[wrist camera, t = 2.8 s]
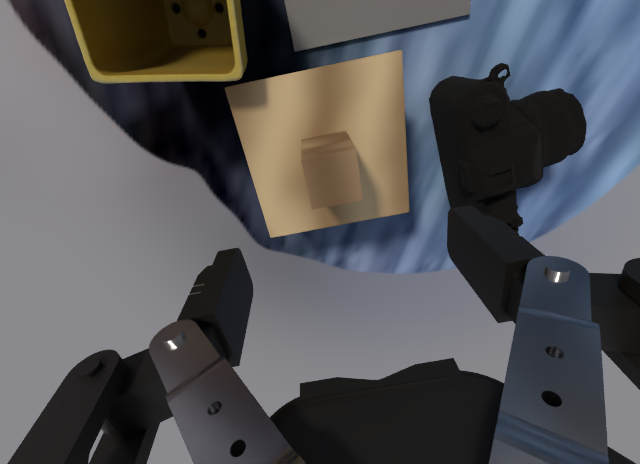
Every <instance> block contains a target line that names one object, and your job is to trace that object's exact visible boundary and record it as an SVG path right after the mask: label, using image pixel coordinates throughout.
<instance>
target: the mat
mask: <svg viewBox="0 0 640 464" xmlns="http://www.w3.org/2000/svg"><path fill="white" fill-rule="evenodd" d="M285 5H286V10H287V15H288V20H289V26H290V31H291V36H292V41H293V46H294V51H295V52H296V51H301V50H306V49H310V48H315V47H319V46H324V45H329V44H333V43H338V42H343V41H347V40H352V39H357V38H361V37H366V36H371V35H375V34H380V33H385V32H389V31H394V30H399V29H403V28H408V27H413V26H417V25H422V24H427V23H431V22H436V21H441V20H445V19H450V18H455V17H459V16H464V15H469V14H470V0H285Z"/></svg>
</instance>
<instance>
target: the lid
mask: <svg viewBox="0 0 640 464" xmlns="http://www.w3.org/2000/svg"><path fill="white" fill-rule="evenodd" d="M225 92H226V95H227V98H228V101H229V104H230V108H231V111H232V114H233V117H234V121H235V124H236V127H237V130H238V134H239V137H240V140H241V143H242V147H243V150H244V153H245V156H246V159H247V163H248V166H249V169H250V172H251V176H252V179H253V182H254V185H255V189H256V192H257V195H258V198H259V202H260V205H261V208H262V211H263V214H264V218H265V221H266V224H267V227H268V231H269V234H270V237H271V238H272V237H278V236H283V235H289V234H294V233H299V232H305V231H310V230H315V229H321V228H326V227H332V226H337V225H342V224H348V223H353V222H358V221H364V220H369V219H375V218H380V217H385V216H391V215H396V214H402V213H407V212H409V193H408V172H407V150H406V128H405V107H404V85H403V64H402V50H398V51H393V52H388V53H384V54H379V55H374V56H370V57H365V58H360V59H355V60H351V61H346V62H341V63H336V64H332V65H327V66H322V67H318V68H313V69H308V70H303V71H299V72H294V73H289V74H284V75H280V76H275V77H270V78H265V79H261V80H256V81H251V82H247V83H242V84H237V85H232V86H228V87H225Z"/></svg>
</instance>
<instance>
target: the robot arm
mask: <svg viewBox="0 0 640 464" xmlns="http://www.w3.org/2000/svg"><path fill="white" fill-rule="evenodd" d="M447 248H448V253H449V256H450V258H451V260H452V261H453V263H454V264H455V265H456V267H457V268H458V269H459V271H460V272H461V274H462V275H463V276H464V278H465V279H466V280H467V281H468V283H469V284H470V286H471V287H472V288H473V290H474V291H475V293H476V294H477V295H478V297H479V298H480V299H481V300H482V302H483V303H484V305H485V306H486V307H487V309H488V310H489V311H490V313H491V314H492V315H493V317H494V318H495V320H496V321H497V322H498V323H501V322H506V321H513V322H514V323H515V324H516V325H515V331H514V336H513V342H512V347H511V352H510V357H509V362H508V367H507V372H506V378H505V383H502V382H500V381H498V380H496V379H493V378H490V377H488V376H485V375H481V374H478V373H474V372H467V371H460V370H459V368H458V366H457V364H456V362H455V361H454V359H453V358H451V359H445V360H439V361H433V362H427V363H421V364H415V365H413V366H410V367H408V368H406V369H404V370H401V371H399V372H397V373H394V374H392V375H390V376H387V377H385V378H383V379H380V380H366V379H353V378H339V377H336V378H330V379H324V380H319V381H312V382H306V383H300V397H298V398H295V399H293V400H292V401H290V402H288V403H287V404H285V405H284V406H282V407H281V408H280V409H278V410H277V411H276V412H275V413H274V414H273V415H272V416H271V417H270V418H269V417H268V416H267V414H266V413H265V411H264V410H263V409H262V407H261V406H260V405H259V403H258V402H257V400H256V399H255V398H254V396H253V395H252V394H251V393H250V391H249V390H248V388H247V387H246V386H245V384H244V383H243V382H242V380H241V379H240V377H239V376H238V375H237V373H236V372H235V371H234V369H233V368H232V367H235V366H239V364H240V358H241V354H242V348H243V343H244V339H245V333H246V328H247V323H248V318H249V313H250V308H251V302H252V297H253V284H252V280H251V277H250V274H249V272H248V269H247V266H246V263H245V260H244V258H243V255H242V252H241V250H240V249H239V248H233V249H228V250H223V251H219V252H218V253H217V255H216V258H215V260H214V262H213V265H211V266H207V267H206V268H205V269H204V270H203V271H202V272H201V273H200V274H199V275H198V277H197V279H196V281H195V283H194V285H193V286H194V287H193V288H192V289H191V292H190V295H189V296H188V298H187V300H186V302H185V304H184V307H183V309H182V311H181V313H180V315H179V317H178V319H177V321H176V322H174V323H171V324H170V325H167V326H166V327H165V328H163V329H162V330H160V331H159V332H158V333H157V334H156V335H155V336H154V337H153V339H152V341H151V343H150V345H149V348H148V349H146V350H144V351H142V352H139V353H136V354H134V355H132V356H129V357H127V358H125V359H122V358H121V357H120V356H119V355H118V353H117V352H116V351H114V350H103V351H100V352H97V353H95V354H92V355H91V356H89V357H87V358H85V359H84V360H83V361H81V362H80V363H78V364H77V365H76V366H75V367H74V368H73V369H72V370H71V371H70V372H69V373H68V375H67V376H66V377H65V379H64V380H63V382H62V383H61V385H60V386H59V388H58V389H57V391H56V392H55V394H54V395H53V397H52V398H51V400H50V401H49V403H48V404H47V406H46V407H45V409H44V410H43V412H42V413H41V415H40V416H39V418H38V419H37V421H36V422H35V424H34V425H33V426H32V428H31V430H30V431H29V433H28V434H27V436H26V437H25V438H24V440H23V441H22V443H21V444H20V446H19V447H18V449H17V450H16V452H15V453H14V455H13V456H12V458H11V459H10V461H9V462H8V464H88V459H89V454H90V450H91V448H92V446H93V444H94V442H95V440H96V437H97V436H98V434H99V432H100V429H102V430H103V431H104V433H103V435H102V437H101V440H100V441H99V444H98V446H97V448H96V450H95V452H94V454H93V457H92V458H91V461H90V463H89V464H146V463H147V460H148V457H149V454H150V451H151V448H152V445H153V442H154V439H155V436H156V433H157V430H158V427H159V424H160V422H162V421H164V420H166V419H168V418H170V417H173V416H174V419H175V421H176V423H177V426H178V428H179V430H180V433H181V435H182V437H183V440H184V442H185V444H186V447H187V449H188V451H189V454H190V456H191V458H192V461H193V463H194V464H635V463H634V462H632V461H631V460H629V459H628V458H626V457H624V456H623V455H621V454H619V453H618V452H616V451H615V450H613V449H611V448H610V447H608V446H607V431H606V416H605V401H604V385H603V369H602V354H601V350H603V351H604V352H605V353H606V355H607V356H608V357H609V358H610V359H611V360H612V361H613V362H614V363H615V364H616V365H617V366H618V367H619V368H620V369H621V371H622V372H623V373H624V374H625V375H626V376H627V377H628V378H629V379H630V380H631V381H632V382H633V383H634V384H635V385H636V386H637V388H638V389H639V390H640V258H636V259H632V260H629V261H628V262H627V263H626V264H625V266H624V268H623V271H622V274H603V273H588V271H587V270H586V269H585V268H584V267H583V266H582V265H580V264H578V263H576V262H574V261H571V260H569V259H566V258H562V257H556V256H545V255H543V254H542V253H541V252H540V251H539V250H537V249H536V248H535V247H534V246H533V245H531V244H530V243H529V242H528V241H526V240H525V239H524V238H523V237H522V236H519V234H518V233H517V232H515V231H514V230H512V228H511V227H509V226H508V225H507V224H506V223H504V222H503V221H502V220H499V219H497V218H494V217H492V216H489V215H487V216H484V215H483V214H482V213H481V212H479V211H478V210H477V209H476V208H475V207H474V206H472V205H469V206H463V207H458V208H452V209H450V210H449V212H448V230H447Z"/></svg>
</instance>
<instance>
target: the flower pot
mask: <svg viewBox="0 0 640 464" xmlns="http://www.w3.org/2000/svg"><path fill="white" fill-rule="evenodd" d="M64 1H65V4H66V7H67V10H68V13H69V16H70V18H71V21H72V24H73V27H74V30H75V34H76V37H77V40H78V43H79V46H80V48H81V51H82V54H83V58H84V60H85V63H86V66H87V68H88V70H89V73H90V75H91V78H92V79H93V80H94V81H96V82H99V83H132V82H185V81H208V82H219V81H237V80H239V79H241V78H242V75H243V73H244V71H245V69H246V66H247V53H246V45H245V37H244V29H243V21H242V13H241V4H240V0H64ZM218 3H220V4H221V5H222V6H223V11H222V12H220V13H219V12H218V11H217V10H216V4H218ZM174 4H178V5H179V7H180V12H179V13H175V12H174V10H173V5H174ZM201 29H203V30H204V31H205V32H206V36H205V37H204V38H202V37H200V36H199V30H201Z"/></svg>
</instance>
